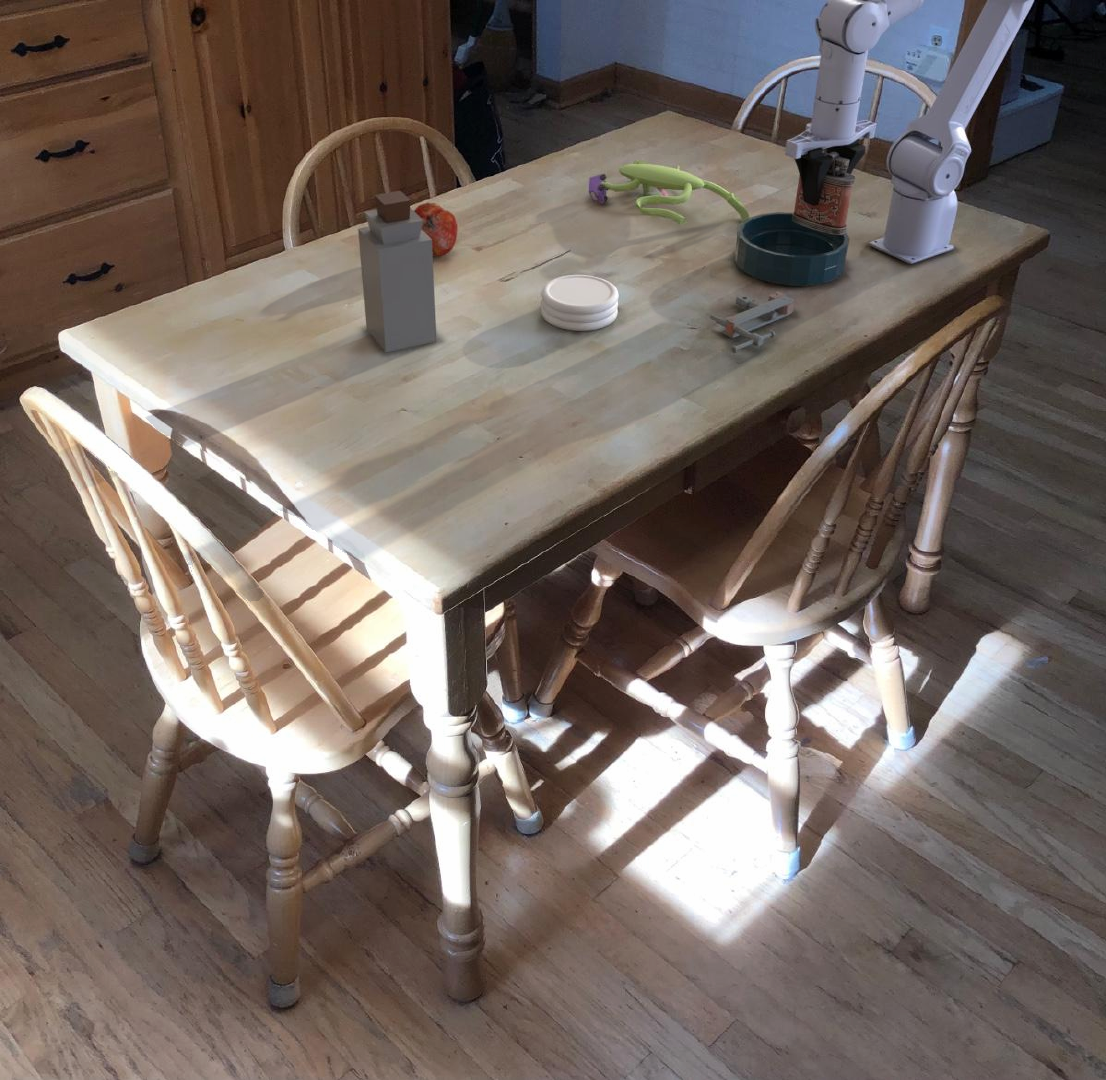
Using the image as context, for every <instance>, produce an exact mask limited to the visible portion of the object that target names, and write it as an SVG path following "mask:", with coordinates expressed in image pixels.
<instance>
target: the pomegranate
mask: <svg viewBox="0 0 1106 1080" xmlns="http://www.w3.org/2000/svg"><path fill="white" fill-rule="evenodd" d="M413 211H414V212H415V213H416V214H417V215H418V216H419V217H421V218H422V219H423V220H424V221H423V225H422V229H421V230H422V231H424V232H425V233H426V234H427V235H428V236H429V237H430V238H431V239H432V252H433V257H444V256H446V255H447V254H449V253H450V252H451V251H452V250H453V248H454V246H455V244H456V241H457V237H458V230H459V228H458V227H459V225H458V222H457V218H456V217H455V215H454V213H452V212H451V211H450V210H447V209H445V208H443V207H442V206H440V205H439V204H438V203H435V202H425V203H423V204H419V205H417V207H416V208H415V209H414V210H413Z"/></svg>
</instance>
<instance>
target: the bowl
mask: <svg viewBox="0 0 1106 1080" xmlns="http://www.w3.org/2000/svg"><path fill="white" fill-rule="evenodd" d="M792 214H793V212H787V211H786V212H785V211H784V212H782V211H780V212H779V211H776V212H768V213H761V214H757V215H753V216H749V218H748V219H747V220H745V221H742V222H741V223H740V224H739V226H738V228H737V232H736V243H735V251H734V261H735V264H736V266H737V267H738V268H739V269H741V270H742V272H744V273H746V275H749V276H751V277H753V278H754V279H758V280H761V281H764V282H767V283H770V284H777V285H783V286H792V287H793V286H797V287H798V286H799V287H806V286H815V285H822V284H826V283H829V282H831V281H834V280H836V279H837V278H838V277H840V276H841V275H842V274H843V273H844V269H845V265H846V260H847V253H848V249H849V242H850V237H849V235H848V232H846V233H844V234H841V235H834V234H830V233H825V232H821V231H818V230H814V229H811V228H808V227H806V226H803V225H800V224H798V223H796V222H794V221H792Z"/></svg>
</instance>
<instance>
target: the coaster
mask: <svg viewBox="0 0 1106 1080" xmlns="http://www.w3.org/2000/svg"><path fill="white" fill-rule="evenodd" d="M540 296H541V297H540V298H541V299H540V305H541V306H540V314H541V316H542V318H543V319H544V320H545V321H546V322H547V323H549V324H550V325H553V327H556V328H558V329H562V330H567V331H573V332H574V331H575V332H589V331H595V330H599V329H604V328H605V327H607V326H609V325H611V324H612V323H613V322H614V321H615V320H616V319H617V316H618V314H619V311H618V307H619V298H620V297H619V296H620V295H619V291H618V289H617V287H616V286H615V285H614V284H613V283H611V282H610V281H608V280H606V279H604V278H601V277H597V276H594V275H587V274H570V275H563V276H558V277H556V278H553V279H550V280H549V281H548V282H547V283H546V284H544V286H543V287H542V288H541V292H540Z"/></svg>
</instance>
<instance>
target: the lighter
mask: <svg viewBox="0 0 1106 1080" xmlns="http://www.w3.org/2000/svg"><path fill="white" fill-rule="evenodd" d="M822 153H825V154H824V156H826V157H828V158H831V159H833V162H832V164H831V165H830V167H829V169H828V171H827V174H826V176H825V179H824V182H823V187H822V192H821V196H820V200H819V202H818V205H816V206H812V205H810V204H808V203H806V202H804V201H803V191H802V183H801V178H800V175H798V176H799V177H798V183H797V189H796V196H795V197H796V198H795V203H794V210H793V211H792V213H793V214H792V221H794V222H796V223H798V224H800V225H803V226H806V227H808V228H811V229H814V230H818V231H821V232H825V233H830V234H834V235H841V234H844V233H847V227H848V224H847V220H848V219H847V218H848V213H849V207H850V201H851V197H852V190H853V185H855V181H856V176H855V175H853V174H852V173H851V174H848V173H846V171H847V168H848V165H849V159H845V158H842V157H840V156H839V154H838V153H837V152H832V153H830V154H828V153H827V152H826V151H824V150H823V152H822Z"/></svg>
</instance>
